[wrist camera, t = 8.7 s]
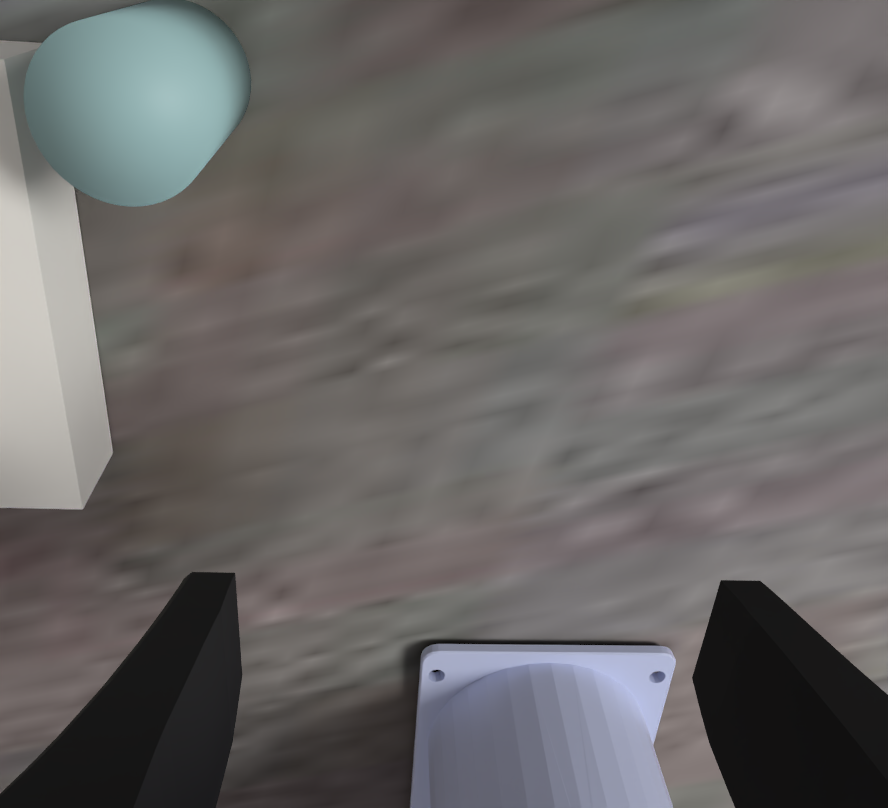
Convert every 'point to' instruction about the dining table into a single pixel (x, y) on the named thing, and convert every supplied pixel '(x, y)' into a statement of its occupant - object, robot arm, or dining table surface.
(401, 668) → the dining table surface
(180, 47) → the short teal pin
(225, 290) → the dining table surface
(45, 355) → the collar block
